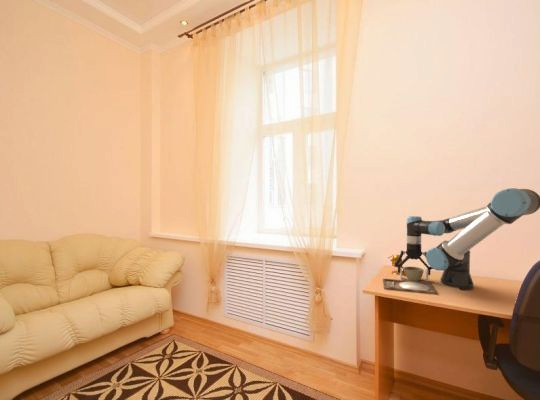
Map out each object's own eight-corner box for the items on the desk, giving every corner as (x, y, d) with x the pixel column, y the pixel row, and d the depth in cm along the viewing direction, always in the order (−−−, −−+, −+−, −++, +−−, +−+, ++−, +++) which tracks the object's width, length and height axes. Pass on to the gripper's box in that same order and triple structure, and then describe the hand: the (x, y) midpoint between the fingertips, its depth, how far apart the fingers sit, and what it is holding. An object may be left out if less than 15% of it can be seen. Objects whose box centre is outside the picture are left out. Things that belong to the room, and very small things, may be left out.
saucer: (426, 284, 151) (426, 283, 151) (431, 293, 138) (431, 291, 138) (398, 282, 156) (398, 280, 156) (400, 290, 143) (400, 288, 143)
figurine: (387, 271, 180) (387, 253, 180) (405, 272, 178) (405, 253, 178) (390, 275, 172) (390, 255, 172) (409, 276, 170) (409, 256, 170)
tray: (429, 285, 152) (430, 282, 152) (436, 295, 136) (436, 292, 136) (382, 281, 160) (382, 278, 160) (384, 290, 144) (384, 287, 144)
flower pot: (426, 284, 155) (426, 271, 154) (406, 283, 157) (406, 270, 156) (420, 278, 164) (420, 266, 164) (402, 277, 166) (402, 266, 166)
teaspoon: (391, 281, 156) (391, 281, 156) (395, 282, 155) (395, 281, 155) (389, 287, 147) (389, 286, 147) (393, 287, 146) (393, 286, 146)
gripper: (437, 243, 160) (436, 279, 160) (389, 240, 168) (389, 275, 168) (440, 245, 152) (439, 283, 153) (390, 242, 161) (390, 279, 161)
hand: (413, 279), depth 160 cm, fingers open, 13 cm apart
